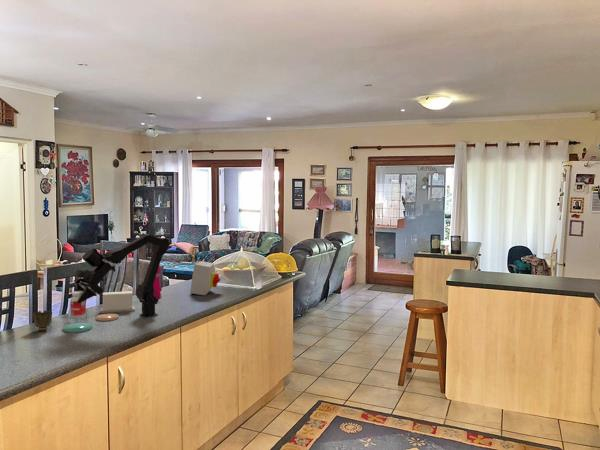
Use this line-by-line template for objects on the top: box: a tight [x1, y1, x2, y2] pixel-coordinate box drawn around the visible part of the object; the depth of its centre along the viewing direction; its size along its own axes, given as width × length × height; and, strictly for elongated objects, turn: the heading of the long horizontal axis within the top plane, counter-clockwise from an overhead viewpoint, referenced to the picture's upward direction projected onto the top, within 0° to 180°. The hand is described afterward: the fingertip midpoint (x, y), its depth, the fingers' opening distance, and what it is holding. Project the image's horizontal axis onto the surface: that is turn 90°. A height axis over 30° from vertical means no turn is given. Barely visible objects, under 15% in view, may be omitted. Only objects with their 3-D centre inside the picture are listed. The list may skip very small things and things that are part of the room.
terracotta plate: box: [95, 313, 120, 322], centre depth 234 cm, size 10×10×1 cm
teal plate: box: [62, 322, 94, 334], centre depth 216 cm, size 12×12×1 cm
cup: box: [32, 309, 53, 332], centre depth 212 cm, size 8×7×8 cm
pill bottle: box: [69, 290, 87, 319], centre depth 216 cm, size 6×6×11 cm
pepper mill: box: [154, 265, 163, 299], centre depth 282 cm, size 7×7×20 cm
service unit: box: [100, 290, 136, 314], centre depth 249 cm, size 7×16×9 cm, turn 110°
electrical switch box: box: [189, 260, 221, 296], centre depth 294 cm, size 15×15×20 cm
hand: (74, 301), depth 214 cm, fingers closed on pill bottle, 6 cm apart
